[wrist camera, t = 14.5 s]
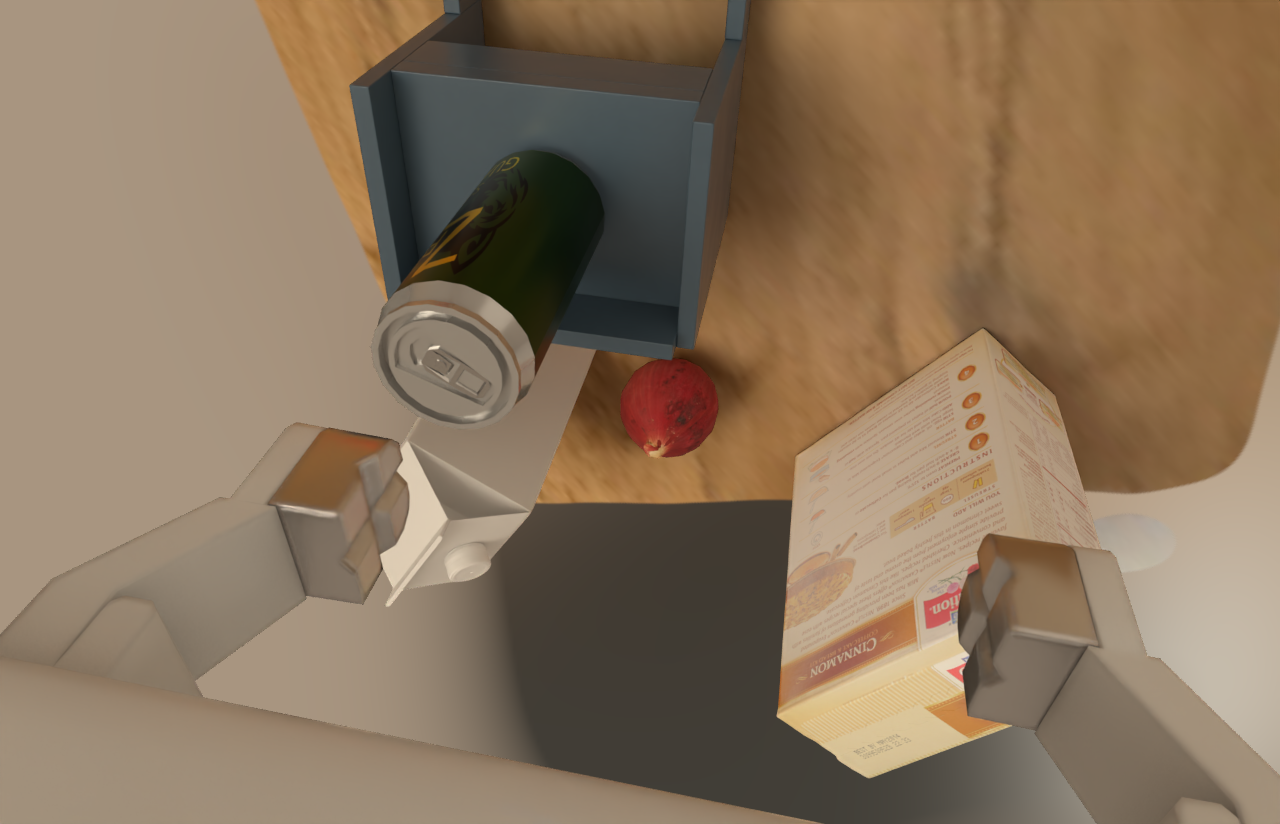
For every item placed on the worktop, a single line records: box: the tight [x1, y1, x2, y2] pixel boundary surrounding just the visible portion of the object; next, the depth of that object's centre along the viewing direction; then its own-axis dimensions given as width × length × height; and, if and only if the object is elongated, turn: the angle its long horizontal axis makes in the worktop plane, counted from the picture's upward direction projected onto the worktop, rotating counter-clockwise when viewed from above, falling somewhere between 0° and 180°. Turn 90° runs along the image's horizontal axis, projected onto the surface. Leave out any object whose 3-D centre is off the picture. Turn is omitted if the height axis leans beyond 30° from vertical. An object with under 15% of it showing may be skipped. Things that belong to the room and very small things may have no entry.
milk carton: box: [380, 343, 596, 607], centre depth 49 cm, size 7×7×19 cm
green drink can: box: [371, 150, 605, 430], centre depth 32 cm, size 5×5×12 cm
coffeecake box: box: [777, 328, 1101, 778], centre depth 46 cm, size 15×7×20 cm, turn 141°
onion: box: [620, 358, 718, 459], centre depth 51 cm, size 6×6×8 cm
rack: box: [350, 0, 751, 360], centre depth 36 cm, size 20×14×14 cm
